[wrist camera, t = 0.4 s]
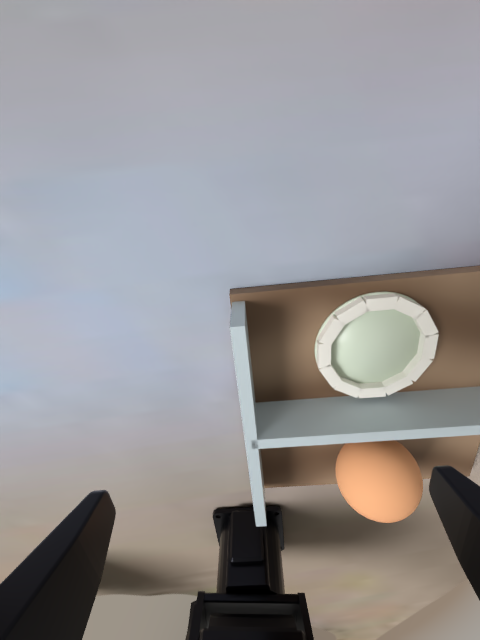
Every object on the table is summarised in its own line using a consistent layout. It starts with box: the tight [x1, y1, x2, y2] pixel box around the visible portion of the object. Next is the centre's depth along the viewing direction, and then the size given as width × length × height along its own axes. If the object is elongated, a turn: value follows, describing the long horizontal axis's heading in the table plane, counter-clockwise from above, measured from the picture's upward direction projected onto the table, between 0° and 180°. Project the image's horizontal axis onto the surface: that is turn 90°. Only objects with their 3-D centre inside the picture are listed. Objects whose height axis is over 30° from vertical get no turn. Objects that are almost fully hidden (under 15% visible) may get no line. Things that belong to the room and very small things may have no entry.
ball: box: [335, 440, 423, 523], centre depth 22 cm, size 6×6×6 cm
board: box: [230, 266, 480, 527], centre depth 21 cm, size 18×18×4 cm
